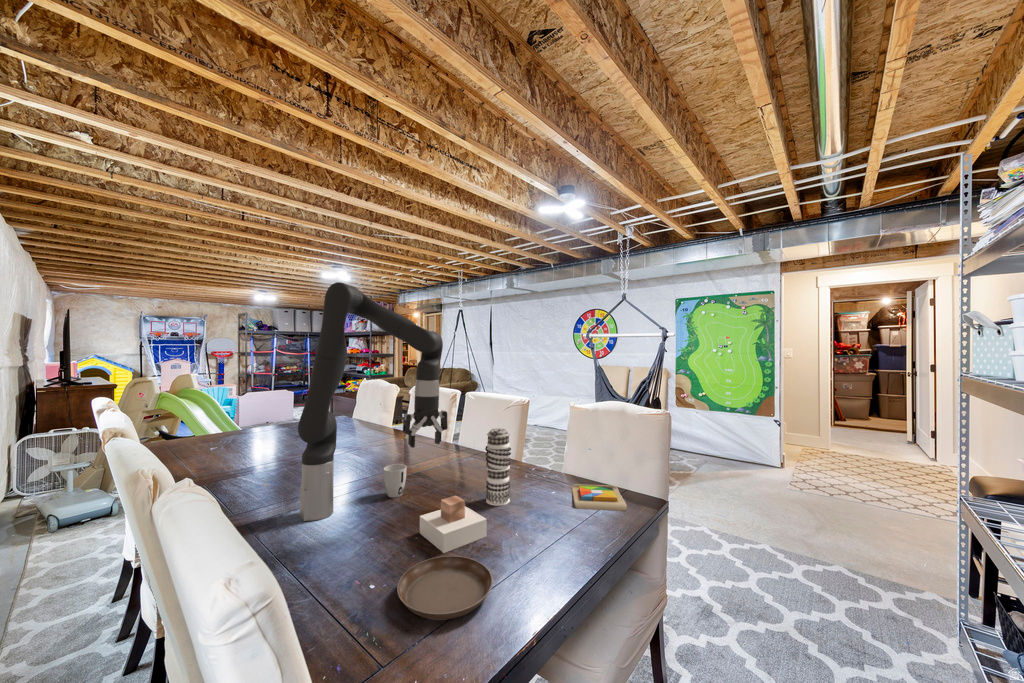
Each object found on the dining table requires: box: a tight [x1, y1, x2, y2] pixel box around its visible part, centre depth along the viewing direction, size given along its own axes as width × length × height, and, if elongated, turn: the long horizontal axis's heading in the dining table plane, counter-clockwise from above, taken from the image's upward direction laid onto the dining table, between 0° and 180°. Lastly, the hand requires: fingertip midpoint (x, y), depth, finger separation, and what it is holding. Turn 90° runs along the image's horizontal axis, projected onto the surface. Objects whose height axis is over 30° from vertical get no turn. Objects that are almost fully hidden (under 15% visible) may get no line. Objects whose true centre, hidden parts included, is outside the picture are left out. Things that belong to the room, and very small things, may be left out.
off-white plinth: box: [419, 505, 488, 554], centre depth 112 cm, size 14×14×5 cm
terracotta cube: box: [440, 495, 466, 523], centre depth 112 cm, size 5×5×5 cm
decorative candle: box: [485, 428, 512, 507], centre depth 136 cm, size 9×9×25 cm
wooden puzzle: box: [571, 483, 628, 512], centre depth 139 cm, size 18×19×4 cm
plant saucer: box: [396, 555, 494, 621], centre depth 85 cm, size 21×21×3 cm
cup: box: [383, 463, 408, 498], centre depth 141 cm, size 8×8×10 cm
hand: (425, 445), depth 122 cm, fingers open, 8 cm apart
